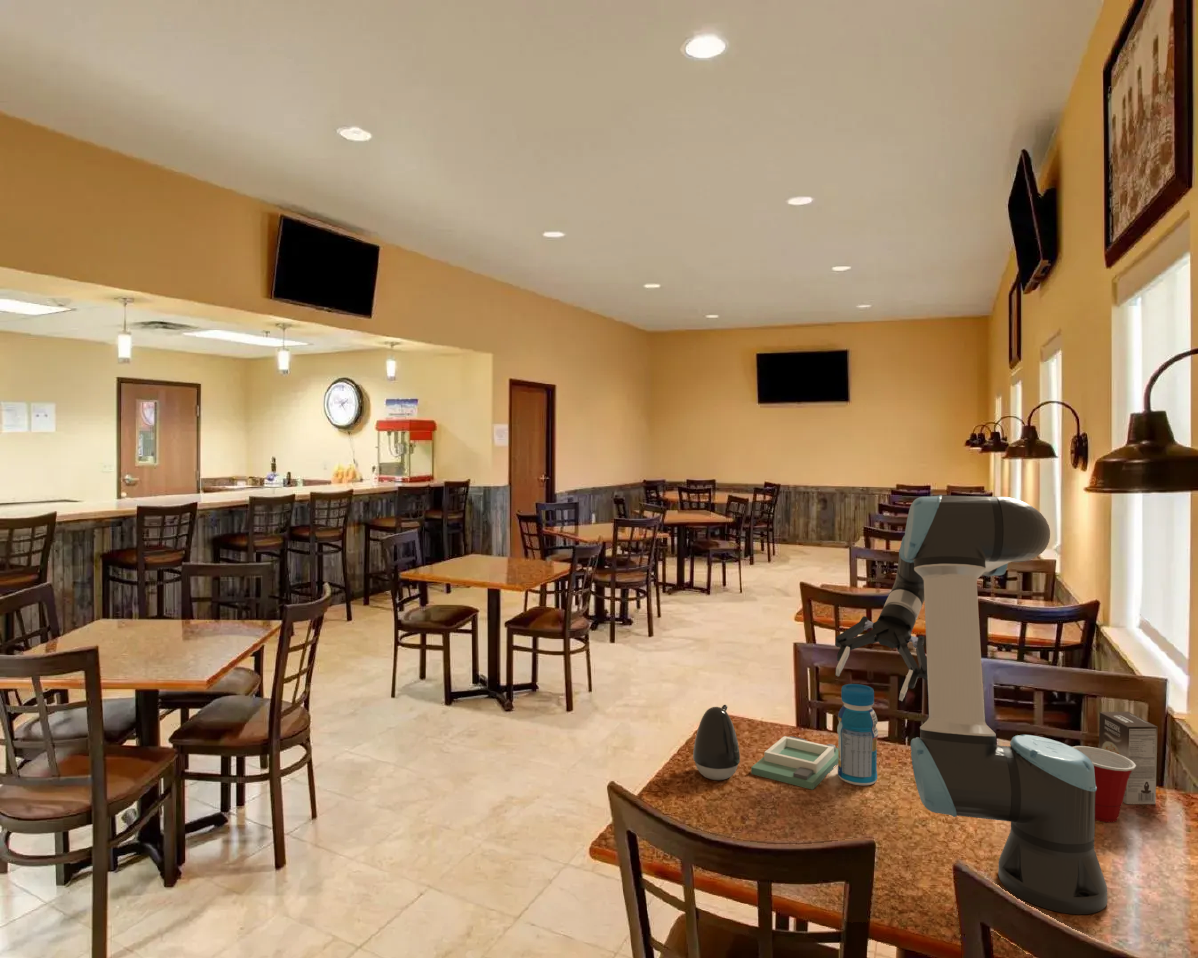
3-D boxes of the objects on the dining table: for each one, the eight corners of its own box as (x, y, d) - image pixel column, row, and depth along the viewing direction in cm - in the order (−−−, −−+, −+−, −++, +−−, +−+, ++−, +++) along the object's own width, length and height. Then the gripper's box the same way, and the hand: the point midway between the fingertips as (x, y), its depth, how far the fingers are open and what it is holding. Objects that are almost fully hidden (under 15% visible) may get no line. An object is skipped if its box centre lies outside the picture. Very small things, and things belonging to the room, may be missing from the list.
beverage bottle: (851, 789, 157) (852, 695, 157) (829, 772, 165) (829, 683, 165) (886, 784, 159) (886, 691, 159) (862, 768, 168) (862, 680, 167)
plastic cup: (1146, 831, 139) (1147, 768, 138) (1082, 826, 141) (1083, 763, 141) (1118, 805, 149) (1119, 746, 149) (1059, 800, 151) (1060, 742, 151)
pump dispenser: (747, 771, 166) (747, 704, 166) (729, 789, 157) (729, 718, 157) (705, 762, 172) (705, 696, 171) (685, 778, 163) (685, 709, 162)
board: (813, 789, 157) (813, 773, 157) (751, 773, 165) (751, 758, 165) (845, 755, 175) (845, 741, 175) (787, 743, 183) (788, 728, 183)
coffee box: (1096, 785, 159) (1097, 710, 158) (1126, 785, 159) (1127, 710, 158) (1126, 804, 150) (1127, 725, 149) (1158, 805, 149) (1159, 725, 149)
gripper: (954, 643, 168) (927, 717, 155) (845, 606, 181) (812, 672, 168) (959, 622, 163) (931, 697, 151) (846, 586, 176) (812, 652, 163)
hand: (868, 684), depth 159 cm, fingers open, 13 cm apart
